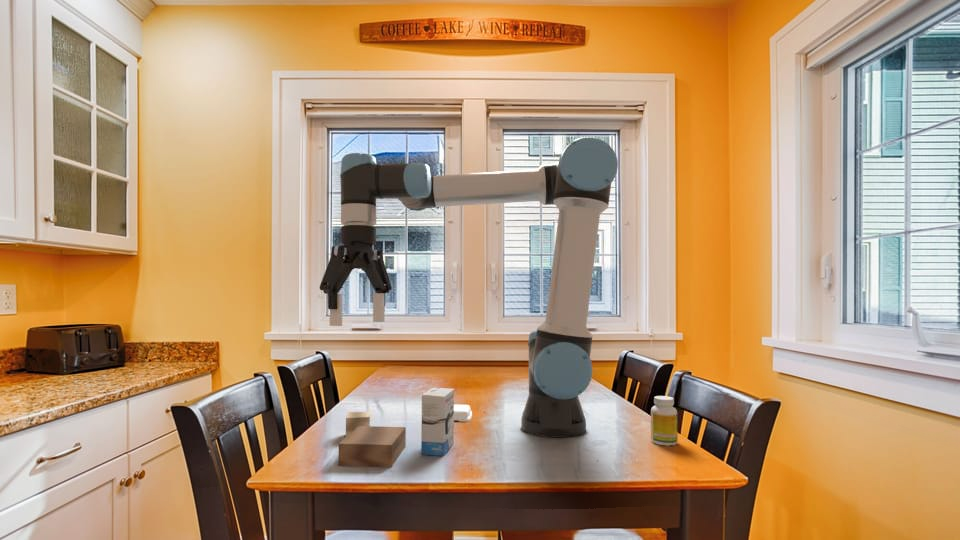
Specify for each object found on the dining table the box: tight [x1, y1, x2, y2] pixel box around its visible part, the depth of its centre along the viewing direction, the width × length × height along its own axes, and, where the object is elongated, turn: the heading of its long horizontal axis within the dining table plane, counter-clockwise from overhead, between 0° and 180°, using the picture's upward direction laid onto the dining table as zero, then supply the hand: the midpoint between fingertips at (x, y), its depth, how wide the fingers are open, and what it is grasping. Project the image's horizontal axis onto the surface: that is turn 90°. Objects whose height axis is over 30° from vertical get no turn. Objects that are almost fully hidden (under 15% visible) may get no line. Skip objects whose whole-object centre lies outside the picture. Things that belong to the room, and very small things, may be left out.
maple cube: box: [345, 410, 371, 438], centre depth 109 cm, size 5×5×5 cm
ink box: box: [420, 387, 455, 457], centre depth 101 cm, size 8×5×12 cm, turn 168°
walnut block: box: [337, 425, 407, 468], centre depth 96 cm, size 10×12×4 cm
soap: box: [454, 404, 473, 423], centre depth 127 cm, size 9×7×3 cm
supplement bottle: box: [650, 395, 679, 447], centre depth 106 cm, size 5×5×10 cm
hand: (358, 323), depth 106 cm, fingers open, 13 cm apart
